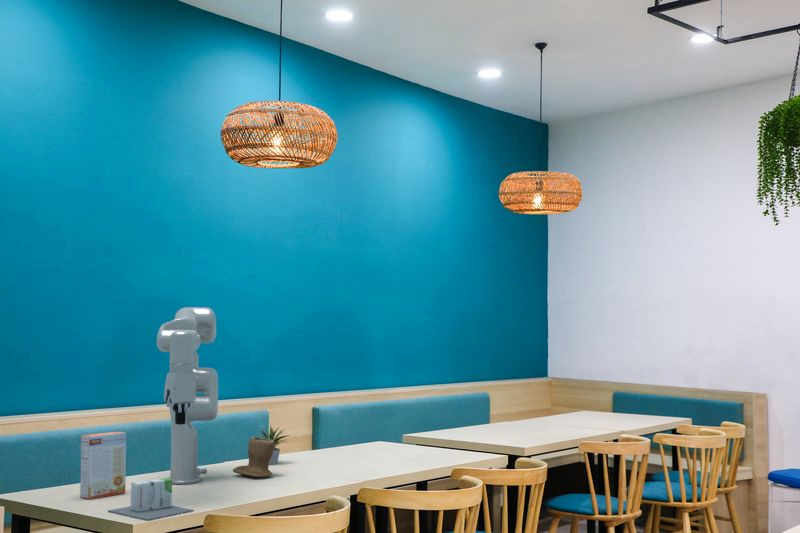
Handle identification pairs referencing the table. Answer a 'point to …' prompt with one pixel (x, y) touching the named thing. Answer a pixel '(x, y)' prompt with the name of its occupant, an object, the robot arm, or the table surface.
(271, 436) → the house plant
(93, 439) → the cracker box
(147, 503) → the ink box
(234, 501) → the table surface
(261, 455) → the brown suede boot shape
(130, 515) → the mat
